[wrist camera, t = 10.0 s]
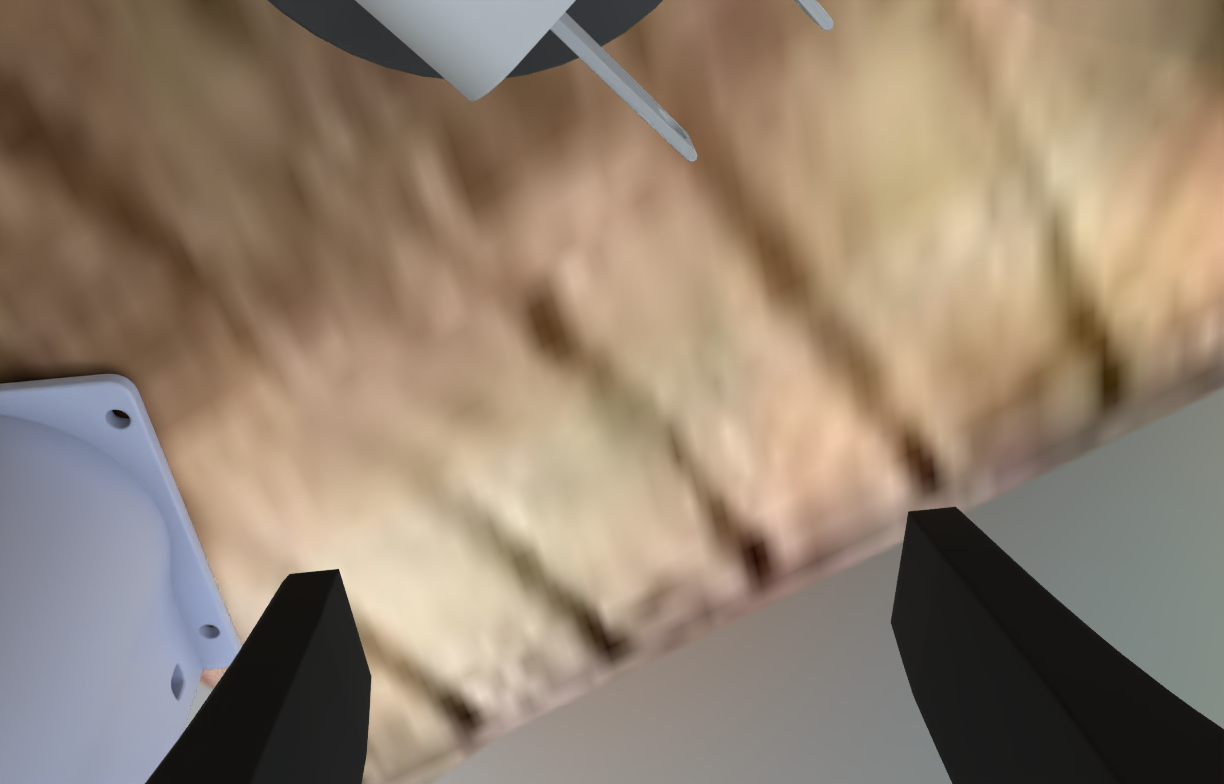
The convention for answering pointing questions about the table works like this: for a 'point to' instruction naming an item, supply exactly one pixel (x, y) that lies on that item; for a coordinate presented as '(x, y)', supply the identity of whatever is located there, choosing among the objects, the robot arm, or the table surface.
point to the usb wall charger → (520, 47)
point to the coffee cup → (333, 15)
